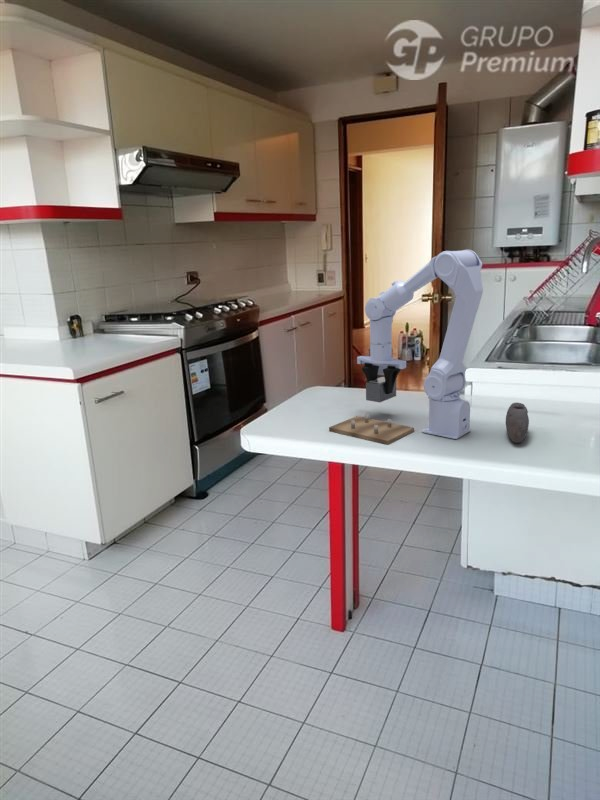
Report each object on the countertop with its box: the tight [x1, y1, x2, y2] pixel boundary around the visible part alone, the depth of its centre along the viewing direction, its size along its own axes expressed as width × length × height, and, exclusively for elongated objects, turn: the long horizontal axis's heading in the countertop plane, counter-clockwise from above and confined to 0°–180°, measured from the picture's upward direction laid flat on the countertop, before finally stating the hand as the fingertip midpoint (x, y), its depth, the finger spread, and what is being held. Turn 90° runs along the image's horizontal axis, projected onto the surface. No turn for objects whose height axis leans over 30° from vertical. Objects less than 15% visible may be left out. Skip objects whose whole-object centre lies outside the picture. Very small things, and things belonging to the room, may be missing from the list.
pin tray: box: [328, 414, 415, 446], centre depth 144 cm, size 18×12×3 cm, turn 48°
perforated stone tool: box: [505, 402, 530, 444], centre depth 134 cm, size 15×5×7 cm, turn 158°
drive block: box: [365, 376, 397, 403], centre depth 154 cm, size 4×8×5 cm, turn 138°
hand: (381, 391), depth 154 cm, fingers closed on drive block, 4 cm apart
